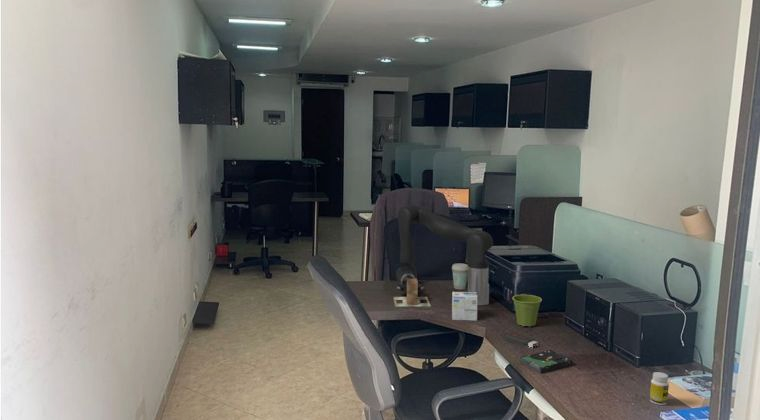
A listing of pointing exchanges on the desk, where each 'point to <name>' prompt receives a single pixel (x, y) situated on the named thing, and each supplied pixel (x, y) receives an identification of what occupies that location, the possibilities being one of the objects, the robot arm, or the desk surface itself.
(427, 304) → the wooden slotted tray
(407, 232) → the robot arm
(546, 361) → the disk drive
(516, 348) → the desk surface
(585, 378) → the desk surface
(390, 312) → the desk surface
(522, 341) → the usb drive
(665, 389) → the supplement bottle
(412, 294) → the walnut block
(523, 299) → the plant pot
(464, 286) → the coffee cup
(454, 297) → the light bulb box
